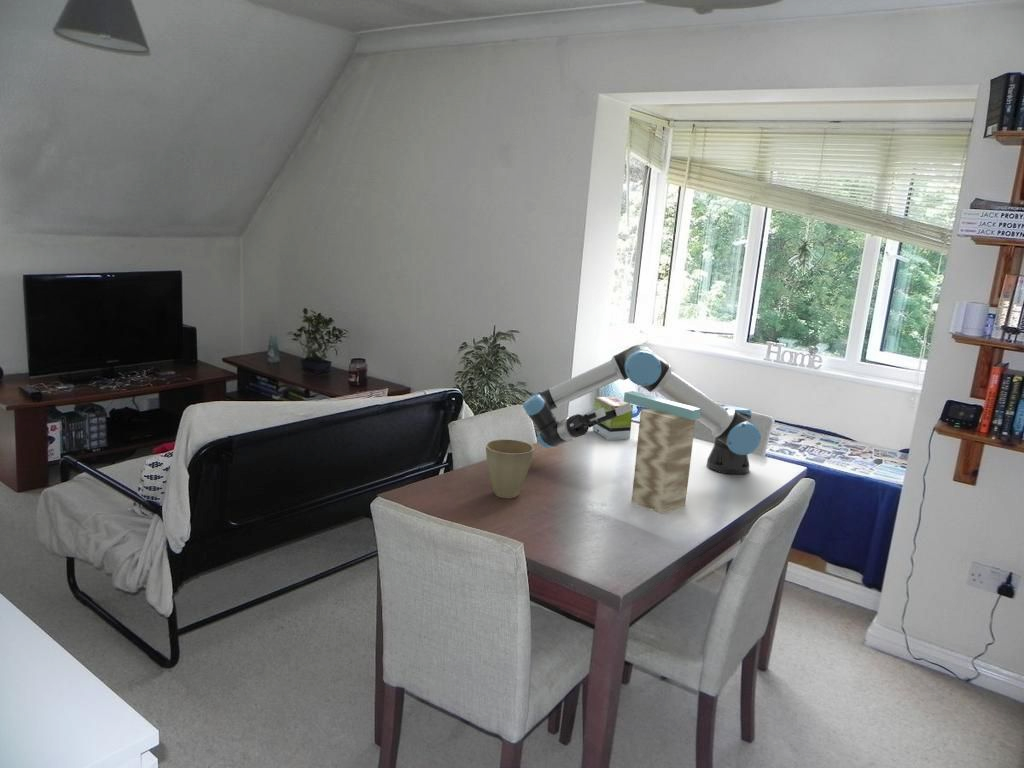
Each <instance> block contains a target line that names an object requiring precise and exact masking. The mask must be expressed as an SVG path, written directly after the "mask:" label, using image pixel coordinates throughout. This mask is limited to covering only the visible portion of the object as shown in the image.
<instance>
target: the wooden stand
mask: <svg viewBox="0 0 1024 768" xmlns="http://www.w3.org/2000/svg"><path fill="white" fill-rule="evenodd" d="M695 425H696V419H695V420H690V419H686V418H682V417H679V416H675V415H671V414H668V413H664V412H660V411H657V410H653V409H649V408H643V409H640V413H639V424H638V433H637V434H638V436H637V444H636V453H635V454H636V455H635V465H634V473H633V481H632V493H631V494H632V495H631V503H634V504H636V505H638V506H641V507H644V508H647V509H648V510H651V509H652V511H654V512H656V511H657V513H659V514H663V515H664V514H665V513H669V512H671V510H672V511H675V510H677V508H678V509H680V508H683V507H685V506H686V502H687V494H688V485H689V477H690V469H691V461H692V452H693V445H694V444H693V441H694V434H695Z"/></svg>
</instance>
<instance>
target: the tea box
mask: <svg viewBox="0 0 1024 768" xmlns="http://www.w3.org/2000/svg"><path fill="white" fill-rule="evenodd" d="M625 404H627V402H624V399H621V398H619V397H617V396H616V395H615V396H612V395H611V396H597V397H594V406H593V407H594V408H593V411H595V410H598V409H600V408H604V411H605V412H608V411H611V410H614V409H615V407H620V406H622V405H625ZM630 404H631V403H630ZM631 407H632V411H630V412H627V413H625V414H622V416H620V417H616V418H613V419H610V420H607V421H604V422H601V423H600V424H596V425H594V426H592V431H594V432H595V433H597V434H599V435H600V436H602V437H603V438H606V439H607V440H608V441H614V440H615V441H616V440H617V441H618V440H620V441H621V440H629V439H631V430H632V429H631V428H632V419H633V408H634V404H631Z"/></svg>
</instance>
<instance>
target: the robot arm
mask: <svg viewBox="0 0 1024 768" xmlns="http://www.w3.org/2000/svg"><path fill="white" fill-rule="evenodd" d="M628 379H629V381H630V382H632V383H634V384H635V385H637V386H640V387H642V388H644V389H645V390H646V391H648V392H649V393H654V392H657V393H659V394H660V395H661V396H663V397H664V398H666V400H667V399H668V400H669V401H673V402H677V403H681V404H684V405H688V406H692V407H696V408H700V409H701V413H700V418H699V419H696V421H699V422H700V423H701V424H703V425H704V426H705V427H707V428H709V429H710V430H711V433H712V437H713V438H714V444H713V447H712V449H711V452H710V453H709V456H708V457H707V460H706V466H708V467H707V468H708V469H710V468H711V470H712V469H713V471H714V470H716V472H718V471H720V472H719V473H721V472H724V473H723V474H727V473H731V474H730V475H744V474H743V473H745V474H747V472H748V471H750V461H749V456H748V455H750V454H752V453H753V452H755V451H756V450H757V449H758V447H760V444H761V441H762V440H761V439H762V435H761V431H760V429H759V428H758V426H757V425H756V424H755V423H754V422H753V421H752V420H751V419H752V410H751V409H749V408H746V407H737V406H729V405H728V406H725V405H723V406H721V405H720V404H719V403H717V402H716V401H715V400H713V399H712V398H710V397H709V396H707V394H705V393H703V392H701V391H700V390H699V389H697V388H696V387H694V385H692V384H691V383H689V382H687V381H686V380H685V379H683V378H682V377H680V375H677V374H676V373H675V372H673V371H672V367H671V364H670V363H668V361H667V362H666V360H664V359H663V358H661V357H660V356H658V355H657V354H656V353H655V352H654V351H653V350H652V349H651V348H650V347H649V346H646V345H643V344H635V345H633V346H631V347H629V348H627V349H624V350H623V351H621V352H619V353H617V354H615V355H612V357H611V359H610V360H608V361H606V362H604V363H602V364H600V365H598V366H596V367H593V368H591V369H589V370H587V371H585V372H582V373H580V374H577V375H576V376H574V377H572V378H570V379H567V380H565V381H563V382H560V383H559V384H556V385H554V386H552V387H550V388H547V389H546V390H544V391H543V390H542V391H541V390H540V391H537V392H535V393H534V394H533V395H532V396H531V397H529V398H528V399H526V400H525V401H524V402H523V403H522V408H523V409H524V410H525V413H526V415H527V416H529V418H530V419H531V421H532V422H533V424H534V425H535V427H536V429H538V433H537V439H538V443H539V444H540V446H542V447H543V448H546V449H551V448H554V447H558V446H560V445H562V444H564V443H566V442H568V441H570V442H573V440H574V439H577V438H579V437H582V436H584V435H586V434H588V431H589V428H593V426H594V425H596V424H600V423H601V422H604V421H607V420H610V419H613V418H616V417H620V416H622V414H625V413H627V412H630V411H632V407H631V403H627V404H625V405H622V406H620V407H615V409H614V410H611V411H608V412H605V411H604V408H600V409H598V410H595V411H594V410H593V411H591V412H589V413H586V414H580V413H576V414H574V415H571V416H568V417H567V418H564V419H562V420H558V419H557V417H556V415H554V413H553V410H555V409H557V408H559V407H561V406H564V405H566V404H568V403H570V402H572V401H574V400H577V399H578V398H581V397H583V396H586V395H588V394H590V393H592V392H594V391H598V390H599V389H601V388H603V387H605V386H607V385H610V384H612V383H614V382H618V381H619V380H622V381H625V380H628ZM632 412H633V411H632ZM748 473H749V472H748Z"/></svg>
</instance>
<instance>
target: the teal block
mask: <svg viewBox="0 0 1024 768" xmlns="http://www.w3.org/2000/svg"><path fill="white" fill-rule="evenodd" d="M623 393H624V396H623V401H624V402H627V403H630V404H632V405H633V406H634V405H635V406H638V407H643V408H644V409H648V408H649V409H653V410H657V411H660V412H664V413H668V414H671V415H675V416H679V417H682V418H686V419H690V420H695V421H696V420H697V419H699V418H700V413H701V409H700V408H696V407H692V406H688V405H684V404H681V403H677V402H673V401H670V400H667V399H664V398H660V397H657V396H653V395H649V394H644V393H642V392H641V393H640V392H636V391H633V390H632V391H630V390H629V391H625V392H623Z"/></svg>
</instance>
